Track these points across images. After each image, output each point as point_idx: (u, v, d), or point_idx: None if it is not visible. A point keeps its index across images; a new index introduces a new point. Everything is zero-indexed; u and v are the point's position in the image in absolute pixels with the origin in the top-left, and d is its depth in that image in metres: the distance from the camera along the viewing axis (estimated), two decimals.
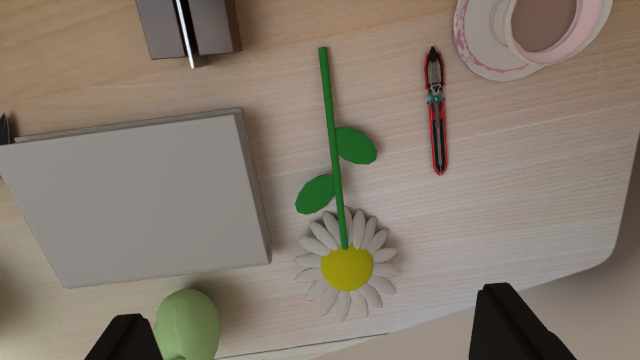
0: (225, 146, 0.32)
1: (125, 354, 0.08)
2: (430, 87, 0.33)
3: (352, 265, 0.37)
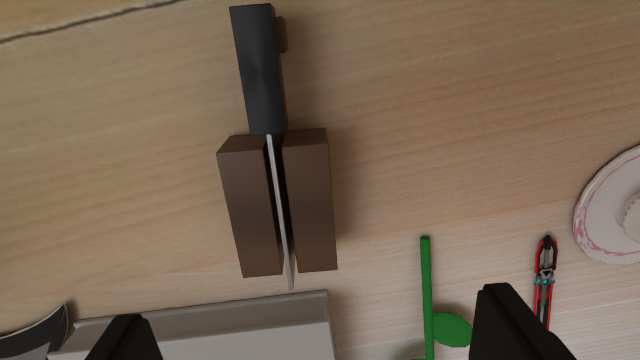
0: (315, 349, 0.28)
1: (125, 354, 0.08)
2: (540, 272, 0.30)
3: None
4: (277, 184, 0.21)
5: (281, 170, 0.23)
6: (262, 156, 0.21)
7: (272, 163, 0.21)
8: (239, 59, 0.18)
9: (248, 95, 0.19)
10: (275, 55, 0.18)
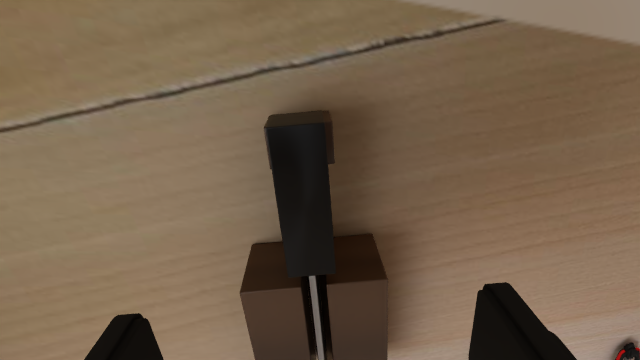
0: None
1: (125, 354, 0.08)
2: None
3: None
4: (319, 329, 0.16)
5: None
6: (300, 295, 0.16)
7: (315, 307, 0.16)
8: (277, 191, 0.13)
9: (287, 232, 0.14)
10: (327, 186, 0.13)
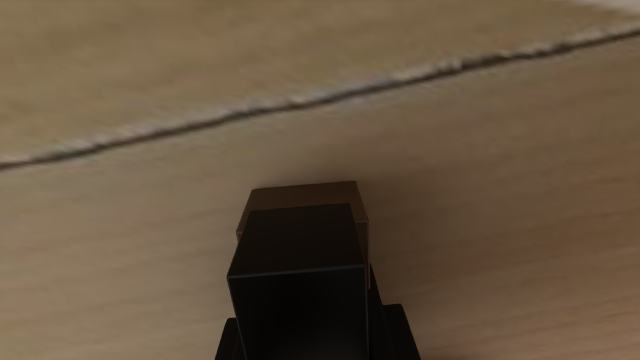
0: None
1: None
2: None
3: None
4: None
5: None
6: None
7: None
8: None
9: None
10: None
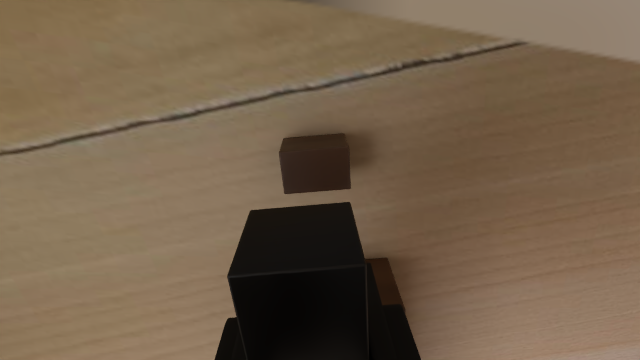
0: None
1: None
2: None
3: None
4: None
5: None
6: None
7: None
8: None
9: None
10: None
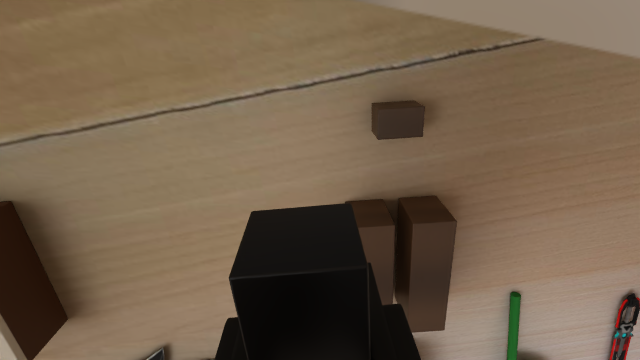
0: None
1: None
2: (621, 326, 0.31)
3: None
4: None
5: None
6: (394, 231, 0.22)
7: None
8: None
9: None
10: None
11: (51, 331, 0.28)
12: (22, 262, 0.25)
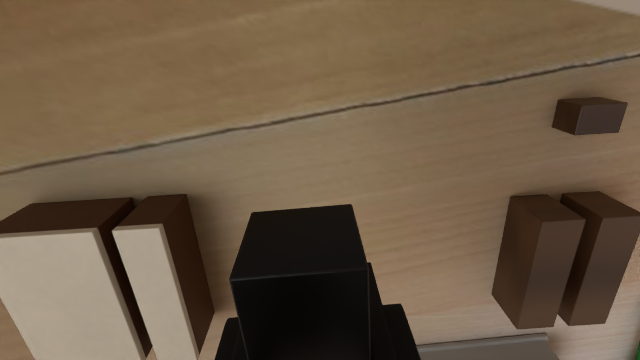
0: None
1: None
2: None
3: None
4: None
5: None
6: (583, 225, 0.23)
7: None
8: None
9: None
10: None
11: (208, 323, 0.28)
12: (193, 254, 0.26)
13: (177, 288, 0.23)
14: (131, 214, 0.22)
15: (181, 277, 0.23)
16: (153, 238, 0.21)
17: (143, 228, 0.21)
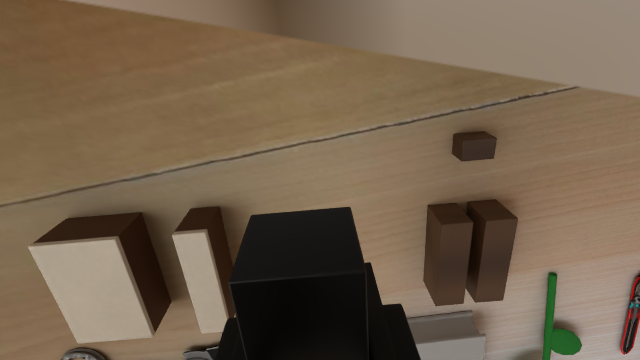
0: (471, 356, 0.38)
1: None
2: (635, 298, 0.39)
3: None
4: None
5: None
6: (472, 226, 0.31)
7: None
8: None
9: None
10: None
11: None
12: (225, 251, 0.34)
13: (216, 275, 0.31)
14: (182, 222, 0.31)
15: (218, 268, 0.32)
16: (201, 239, 0.29)
17: (194, 232, 0.29)
